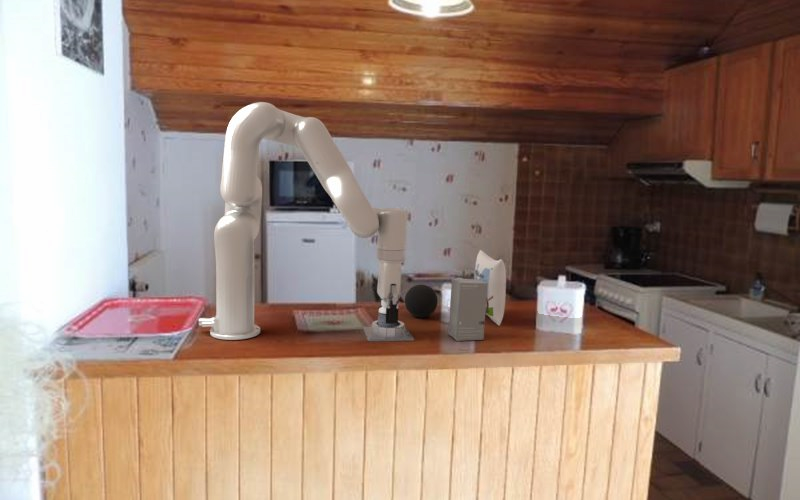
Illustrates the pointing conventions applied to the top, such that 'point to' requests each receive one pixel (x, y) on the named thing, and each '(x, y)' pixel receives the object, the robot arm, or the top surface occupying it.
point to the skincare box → (467, 309)
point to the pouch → (492, 284)
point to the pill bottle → (384, 315)
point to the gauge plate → (388, 332)
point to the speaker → (421, 301)
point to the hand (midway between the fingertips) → (388, 318)
